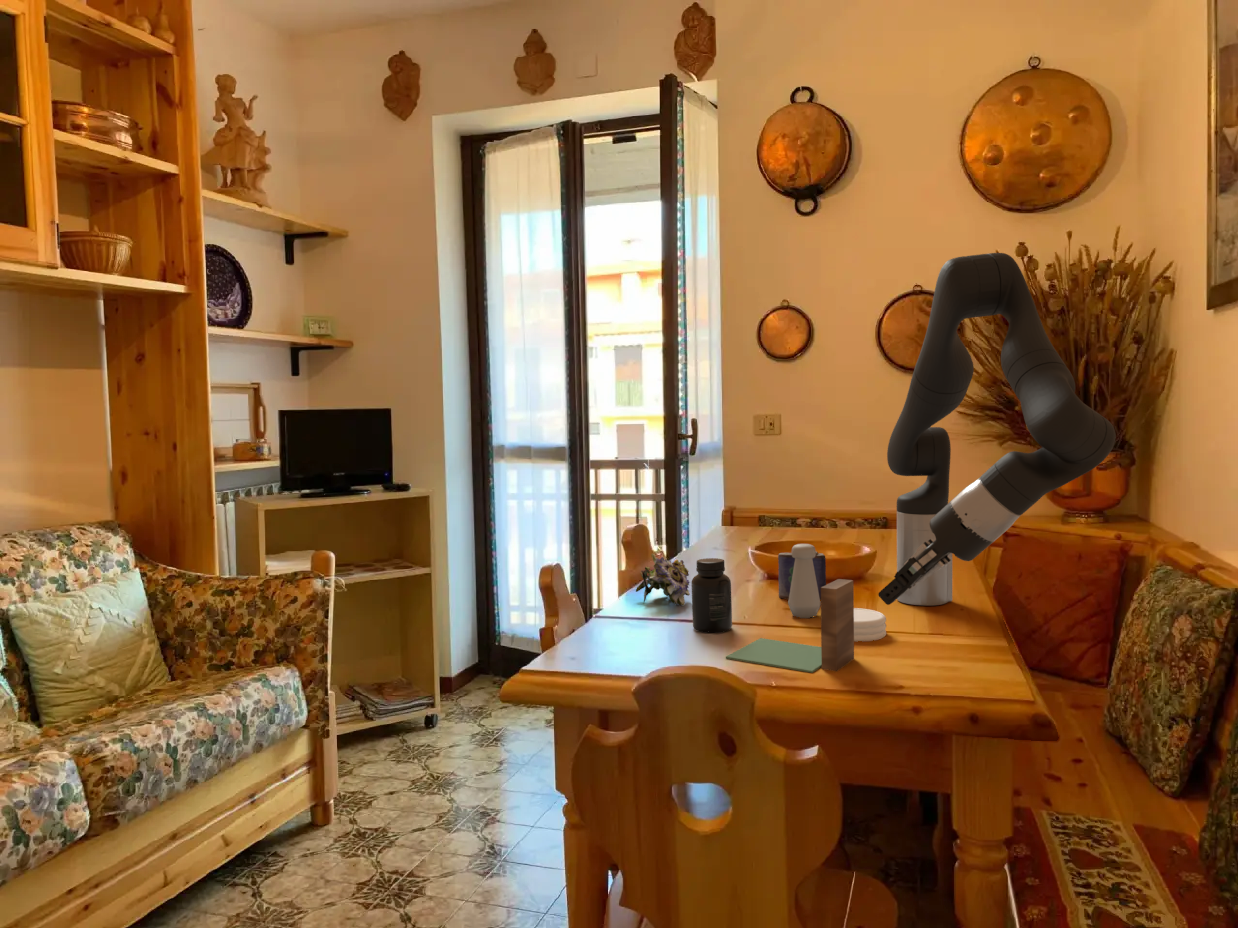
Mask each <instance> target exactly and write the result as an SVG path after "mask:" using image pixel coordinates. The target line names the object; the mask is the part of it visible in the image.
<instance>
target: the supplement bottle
mask: <svg viewBox="0 0 1238 928" xmlns="http://www.w3.org/2000/svg"><path fill="white" fill-rule="evenodd" d="M725 571H726V568H725V560H724V559H723V558H713V557H712V558H711V557H707V558H701V559H700V558H699V559H697V560H696V573H697V574H696V575H695V576H694V577H693V578H692V579H691V585H690V586H691V614H692V628H693V629H694V630H695V631H697V632H699V633H704V634H705V633H706V634H719V633H725V632H728V631H730V630H731V629H732V627H733V608H732V582H731V581H732V580H731V578H730V577H729V576H728V575H727V574H725Z"/></svg>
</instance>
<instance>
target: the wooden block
mask: <svg viewBox="0 0 1238 928" xmlns="http://www.w3.org/2000/svg"><path fill="white" fill-rule="evenodd" d="M854 588H855V587H854V580H852V579H845V578H843V579H842V578H837V579H836V580H834V581H831V582H829V583H826V585H825V586H823V587H821V601H820V603H821V604H820V626H821V627H820V632H821V633H820V635H821V636H820V637H821V640H820V641H821V643H820V645H821V646H820V647H821V655H822V667H821V670H825V671H826V670H827V671H832V672H838V671H840V670H841V669H842V668H843V667H845V666H846V665H848V664H849V663H851V662H852V661H854V660H855V641H854V608H855V605H854V604H855V603H854V602H855V601H854V599H855V598H854V597H855V596H854V590H855V589H854Z"/></svg>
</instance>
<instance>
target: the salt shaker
mask: <svg viewBox="0 0 1238 928" xmlns="http://www.w3.org/2000/svg"><path fill="white" fill-rule="evenodd" d="M816 552H817V550H816V547H815V546H814V545H813V544H810V543H797V544H794V545H793V546H792V548H791V553H792V557H793V558H795V563H794V569H793V576H792V582H791V588H790V594H789V599H787V600H788V601H787V604H788V607H789V610H790V612H791V615H792V616H793V617H795V616H796V617H795V618H798V617H800V618H799V619H811V618H810V617H812V618H814V617H813V616H816V617H817V615H818V613H819V610H820V609H821V601H820V598H819V592H818V587H817V581H816V576H815V571H814V565H813V560H812V558H814V557H815V556H816Z"/></svg>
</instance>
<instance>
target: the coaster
mask: <svg viewBox="0 0 1238 928" xmlns="http://www.w3.org/2000/svg"><path fill="white" fill-rule="evenodd" d="M886 622H887V617H886V615H884V614H883V613H882V612H880V611H877V610H874V609H869V608H861V607H859V608H858V607H854V642H858V641H862V642H872V641H873V640H874V641H878V640H881V639H883V638H885V636H886V635H887V631H886V628H887V624H886Z"/></svg>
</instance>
